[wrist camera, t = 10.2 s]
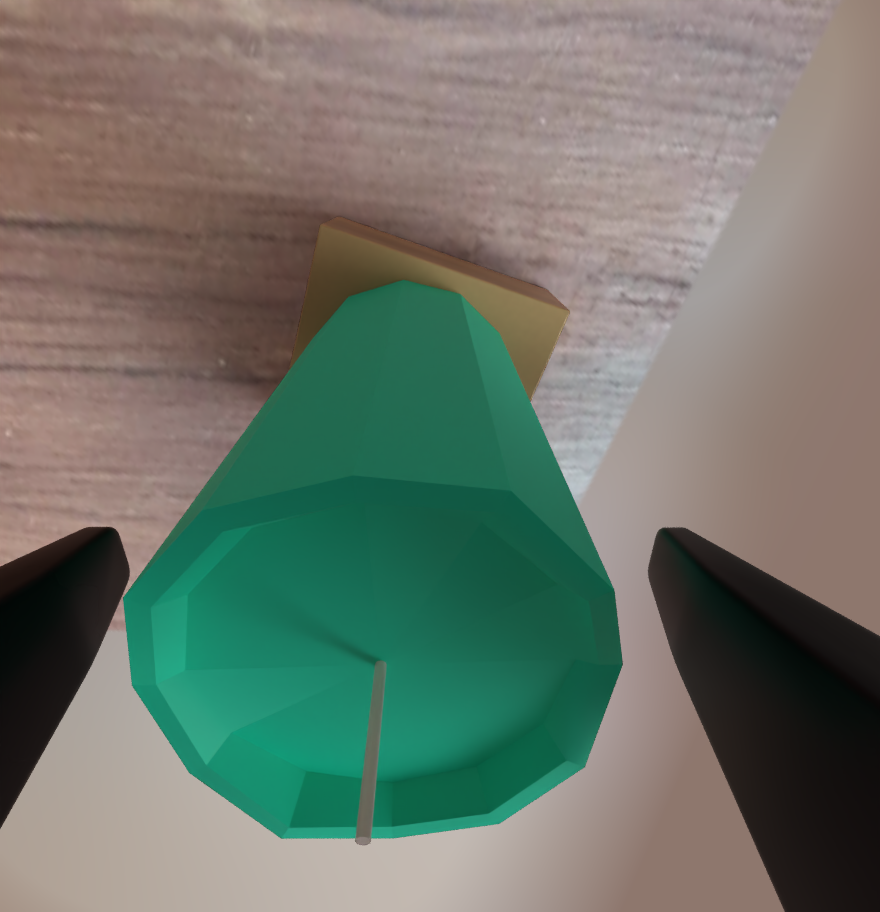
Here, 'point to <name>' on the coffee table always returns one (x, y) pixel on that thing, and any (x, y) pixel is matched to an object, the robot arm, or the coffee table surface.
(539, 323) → the maple block
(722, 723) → the robot arm
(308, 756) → the candle
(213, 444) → the coffee table surface
